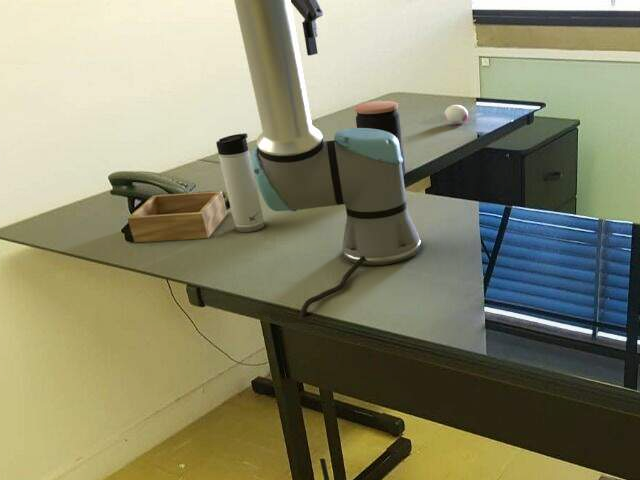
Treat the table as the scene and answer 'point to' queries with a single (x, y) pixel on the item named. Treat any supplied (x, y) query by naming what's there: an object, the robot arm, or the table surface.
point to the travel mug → (240, 182)
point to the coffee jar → (381, 119)
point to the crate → (178, 216)
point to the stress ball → (456, 114)
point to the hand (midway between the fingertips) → (286, 54)
